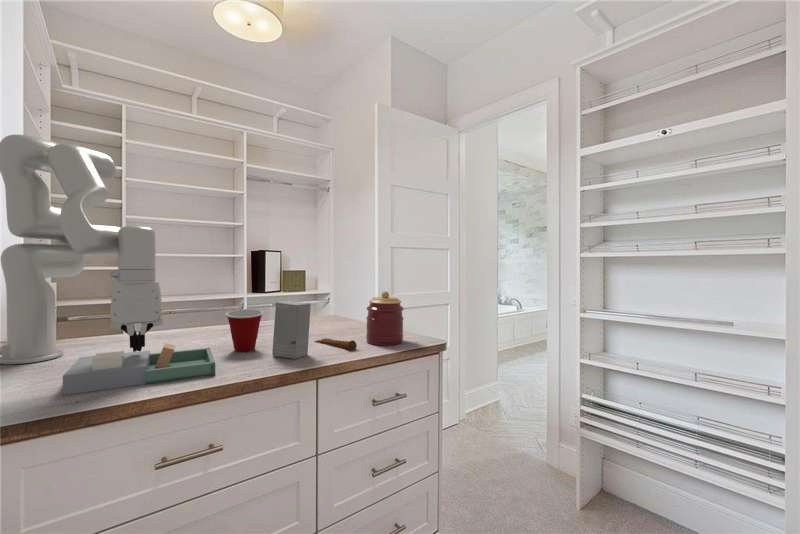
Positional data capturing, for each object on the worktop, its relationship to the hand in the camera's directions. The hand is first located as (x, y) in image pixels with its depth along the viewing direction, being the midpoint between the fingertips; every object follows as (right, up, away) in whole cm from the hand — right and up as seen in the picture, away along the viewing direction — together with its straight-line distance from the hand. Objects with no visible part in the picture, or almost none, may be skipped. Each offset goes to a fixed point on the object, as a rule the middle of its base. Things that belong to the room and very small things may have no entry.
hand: (137, 350), depth 92 cm
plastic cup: (+17, -5, +22) cm, 29 cm away
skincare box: (+33, -6, +17) cm, 38 cm away
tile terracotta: (+4, -2, +2) cm, 5 cm away
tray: (+10, -5, +2) cm, 11 cm away
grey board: (-2, -5, -6) cm, 8 cm away
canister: (+60, -6, +37) cm, 71 cm away
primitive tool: (+43, -6, +31) cm, 54 cm away
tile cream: (0, -1, -9) cm, 9 cm away
